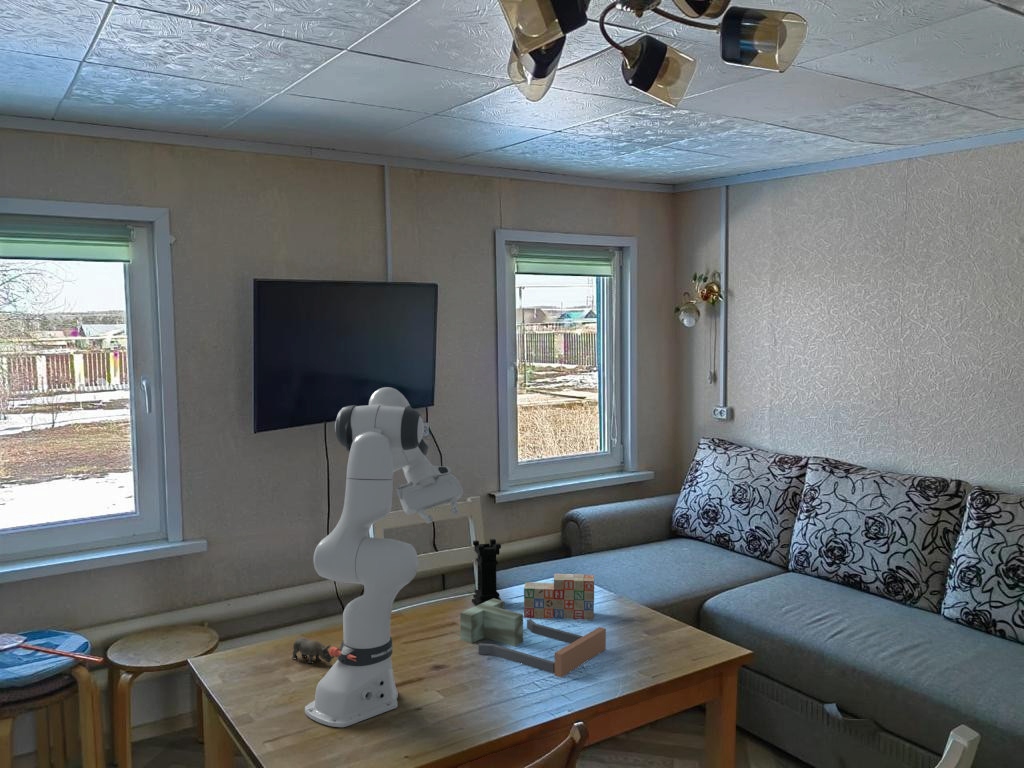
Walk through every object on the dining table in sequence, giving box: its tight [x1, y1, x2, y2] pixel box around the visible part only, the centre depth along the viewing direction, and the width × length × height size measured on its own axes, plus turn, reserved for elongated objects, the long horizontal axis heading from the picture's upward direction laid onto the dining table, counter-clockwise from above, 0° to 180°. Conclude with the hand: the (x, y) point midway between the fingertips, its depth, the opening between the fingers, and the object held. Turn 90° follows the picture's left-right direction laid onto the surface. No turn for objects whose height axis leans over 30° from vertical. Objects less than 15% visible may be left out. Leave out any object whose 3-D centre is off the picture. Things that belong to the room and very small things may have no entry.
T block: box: [459, 598, 524, 647], centre depth 235 cm, size 15×15×8 cm
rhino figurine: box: [291, 636, 336, 664], centre depth 219 cm, size 4×14×6 cm, turn 61°
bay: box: [477, 618, 607, 678], centre depth 225 cm, size 24×27×6 cm
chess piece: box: [471, 538, 502, 607], centre depth 262 cm, size 8×8×20 cm
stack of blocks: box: [523, 573, 595, 621], centre depth 253 cm, size 21×6×12 cm, turn 84°
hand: (443, 517), depth 244 cm, fingers open, 8 cm apart
